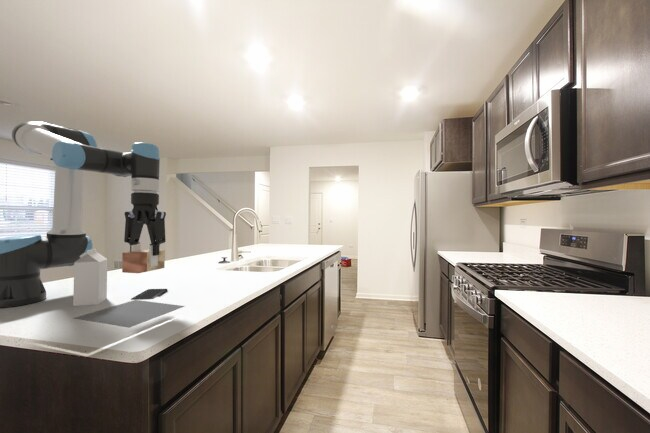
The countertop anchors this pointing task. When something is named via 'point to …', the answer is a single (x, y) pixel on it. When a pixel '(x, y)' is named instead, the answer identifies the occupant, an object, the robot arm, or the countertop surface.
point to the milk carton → (90, 279)
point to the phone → (150, 294)
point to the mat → (129, 313)
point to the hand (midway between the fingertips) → (144, 265)
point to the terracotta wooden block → (140, 261)
